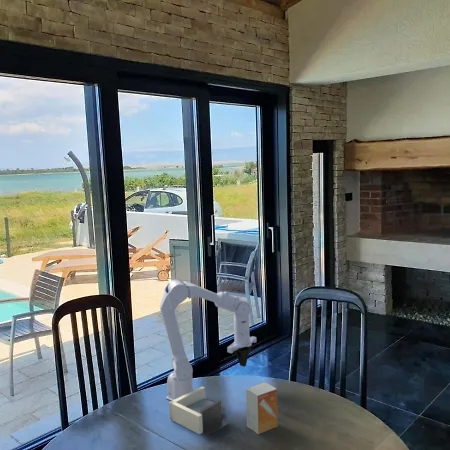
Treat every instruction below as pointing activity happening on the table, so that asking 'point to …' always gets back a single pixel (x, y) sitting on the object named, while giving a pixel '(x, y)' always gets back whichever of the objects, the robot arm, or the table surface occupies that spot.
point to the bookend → (212, 418)
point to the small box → (261, 407)
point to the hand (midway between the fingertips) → (242, 365)
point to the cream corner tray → (188, 410)
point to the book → (200, 405)
